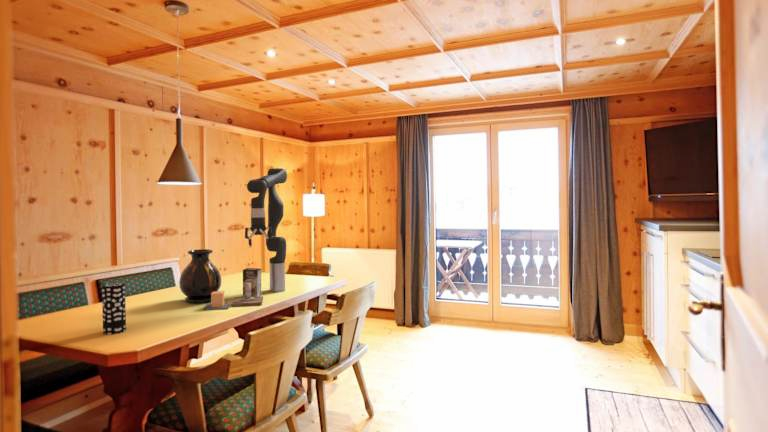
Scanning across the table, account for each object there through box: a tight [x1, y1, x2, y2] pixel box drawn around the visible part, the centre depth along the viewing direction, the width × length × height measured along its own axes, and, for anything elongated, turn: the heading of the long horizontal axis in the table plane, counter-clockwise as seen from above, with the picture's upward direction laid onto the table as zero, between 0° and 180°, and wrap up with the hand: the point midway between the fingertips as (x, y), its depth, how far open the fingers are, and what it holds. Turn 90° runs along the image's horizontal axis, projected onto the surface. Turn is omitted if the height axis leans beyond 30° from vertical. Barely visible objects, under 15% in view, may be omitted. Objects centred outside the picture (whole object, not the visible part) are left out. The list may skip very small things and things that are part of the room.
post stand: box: [231, 283, 264, 308], centre depth 238 cm, size 15×15×10 cm
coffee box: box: [242, 267, 262, 297], centre depth 254 cm, size 9×6×16 cm
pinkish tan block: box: [211, 290, 225, 307], centre depth 229 cm, size 6×6×7 cm
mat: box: [202, 302, 232, 311], centre depth 229 cm, size 12×12×1 cm
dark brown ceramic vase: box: [178, 248, 222, 304], centre depth 243 cm, size 22×22×28 cm
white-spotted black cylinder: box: [101, 282, 127, 335], centre depth 186 cm, size 8×8×20 cm
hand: (258, 245), depth 242 cm, fingers open, 8 cm apart
